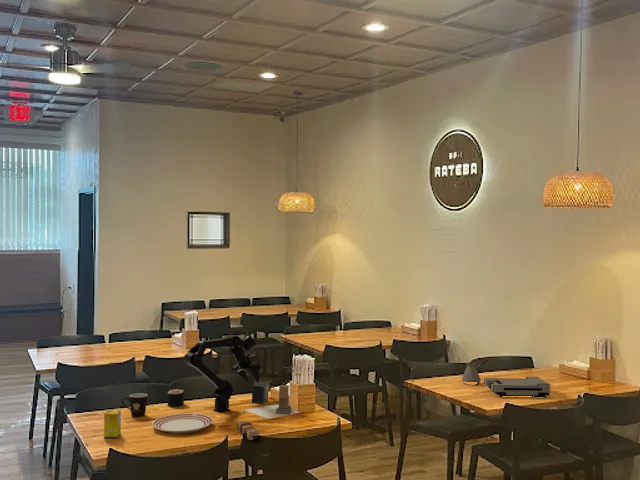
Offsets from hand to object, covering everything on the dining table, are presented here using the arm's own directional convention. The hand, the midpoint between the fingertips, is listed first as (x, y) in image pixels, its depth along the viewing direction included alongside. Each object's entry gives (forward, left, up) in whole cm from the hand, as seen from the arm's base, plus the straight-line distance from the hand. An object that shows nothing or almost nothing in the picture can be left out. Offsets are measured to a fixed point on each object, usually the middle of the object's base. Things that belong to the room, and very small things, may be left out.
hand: (252, 381), depth 339 cm
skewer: (-31, -41, -13) cm, 53 cm away
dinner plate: (-48, -14, -13) cm, 52 cm away
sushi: (-32, +25, -13) cm, 42 cm away
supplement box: (-79, -8, -13) cm, 81 cm away
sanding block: (+2, -24, -11) cm, 27 cm away
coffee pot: (+142, -39, -13) cm, 148 cm away
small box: (+6, +1, -13) cm, 14 cm away
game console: (+136, -70, -13) cm, 154 cm away
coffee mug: (-56, +19, -13) cm, 61 cm away
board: (-1, -19, -13) cm, 23 cm away
